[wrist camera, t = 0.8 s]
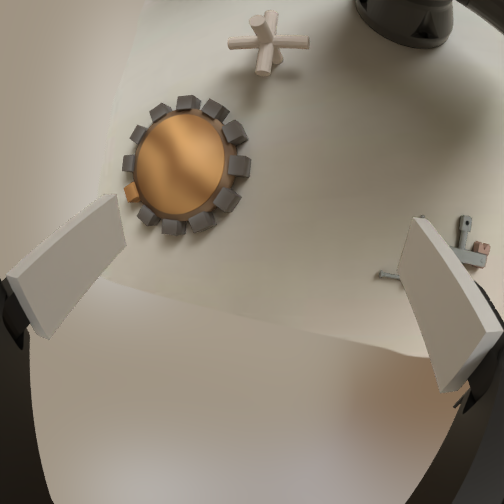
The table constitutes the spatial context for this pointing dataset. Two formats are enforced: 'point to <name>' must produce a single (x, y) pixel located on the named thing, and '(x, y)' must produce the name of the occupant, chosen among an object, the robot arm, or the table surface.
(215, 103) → the sprocket wheel
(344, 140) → the table surface
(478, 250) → the clamp
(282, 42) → the pipe connector
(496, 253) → the table surface
